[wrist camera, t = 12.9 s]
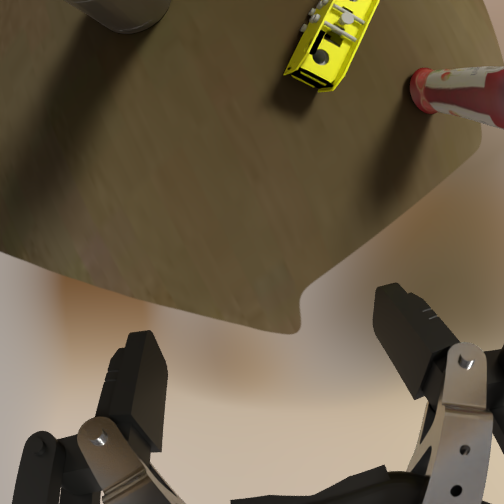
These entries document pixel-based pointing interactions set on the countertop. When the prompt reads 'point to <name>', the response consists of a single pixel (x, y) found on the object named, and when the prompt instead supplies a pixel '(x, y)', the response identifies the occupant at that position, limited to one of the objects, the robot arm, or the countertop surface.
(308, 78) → the yellow toy chassis
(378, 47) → the countertop surface
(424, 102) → the liquor
